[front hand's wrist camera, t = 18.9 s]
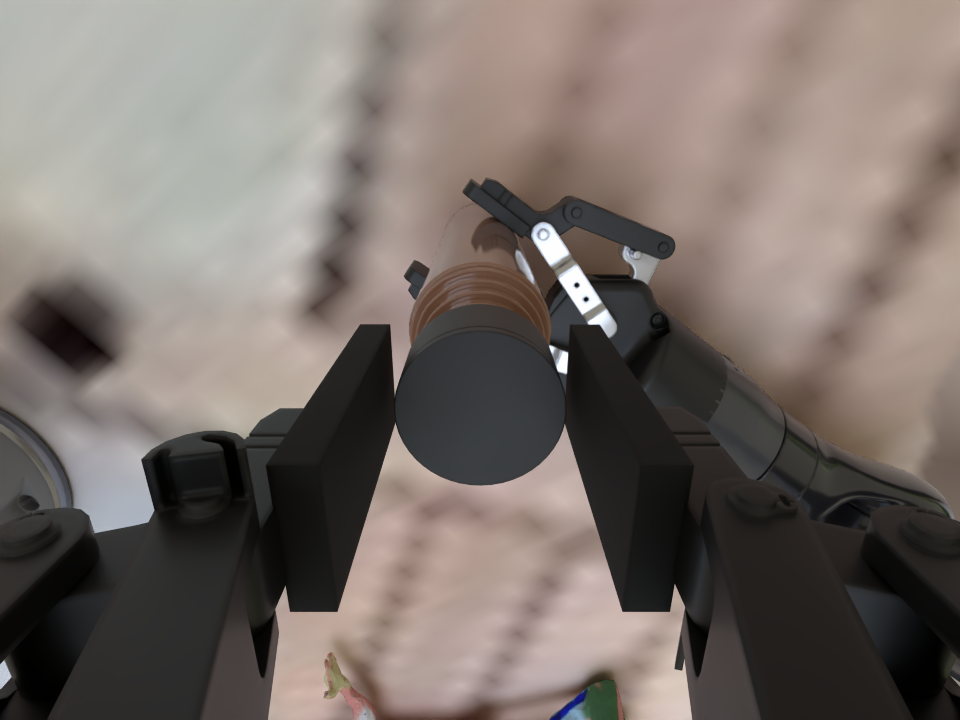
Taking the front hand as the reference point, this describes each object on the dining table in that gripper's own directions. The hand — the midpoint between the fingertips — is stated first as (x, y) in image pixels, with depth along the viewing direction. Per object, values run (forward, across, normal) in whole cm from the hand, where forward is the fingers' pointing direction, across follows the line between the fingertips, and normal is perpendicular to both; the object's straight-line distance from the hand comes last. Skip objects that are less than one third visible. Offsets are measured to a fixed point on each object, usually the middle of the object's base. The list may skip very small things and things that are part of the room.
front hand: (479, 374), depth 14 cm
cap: (-2, 0, 0) cm, 2 cm away
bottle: (+22, 0, 0) cm, 22 cm away
